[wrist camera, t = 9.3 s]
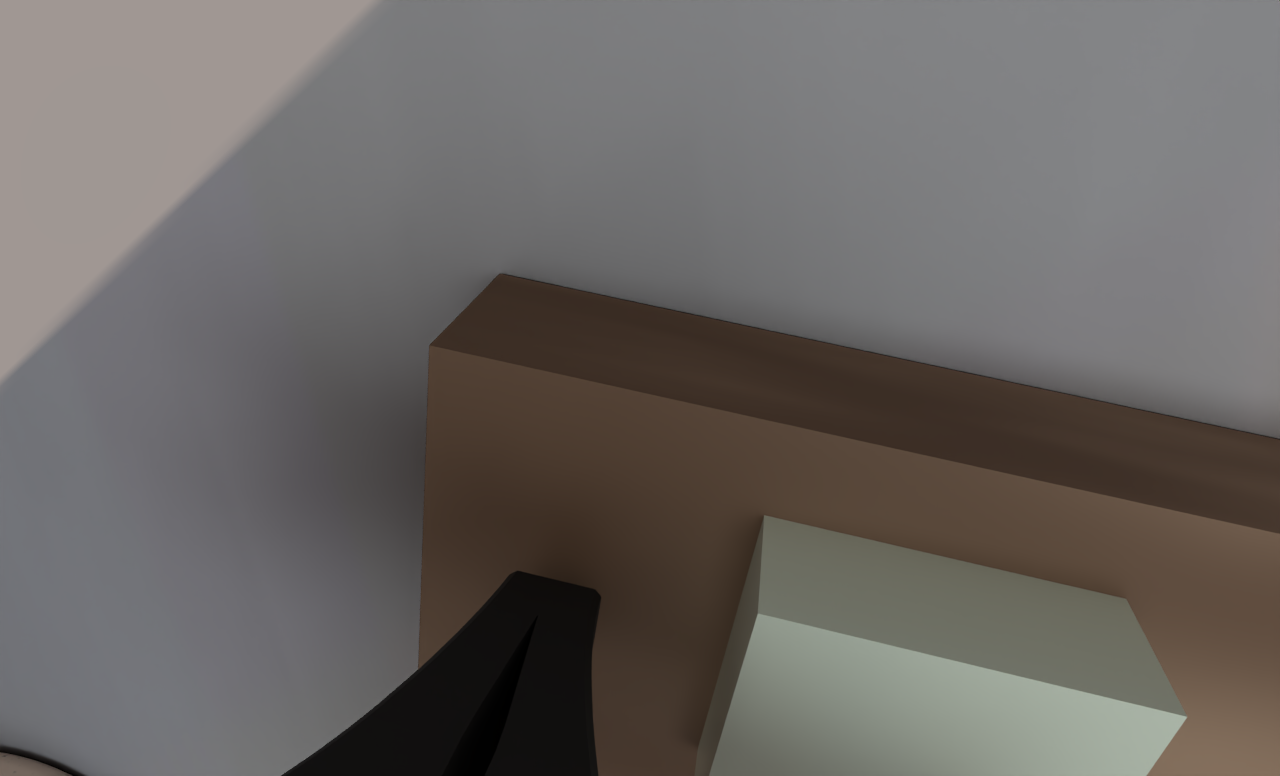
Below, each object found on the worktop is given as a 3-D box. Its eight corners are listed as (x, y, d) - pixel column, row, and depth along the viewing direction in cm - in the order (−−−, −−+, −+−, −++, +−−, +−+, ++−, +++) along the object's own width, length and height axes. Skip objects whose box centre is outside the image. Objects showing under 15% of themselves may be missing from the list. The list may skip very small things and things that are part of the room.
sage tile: (994, 824, 13) (1023, 951, 12) (698, 748, 14) (683, 860, 12) (1125, 598, 11) (1186, 716, 9) (764, 514, 12) (758, 613, 10)
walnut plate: (1034, 999, 20) (1069, 1153, 18) (456, 842, 21) (407, 965, 19) (1430, 472, 13) (1595, 604, 10) (499, 273, 14) (429, 344, 11)
